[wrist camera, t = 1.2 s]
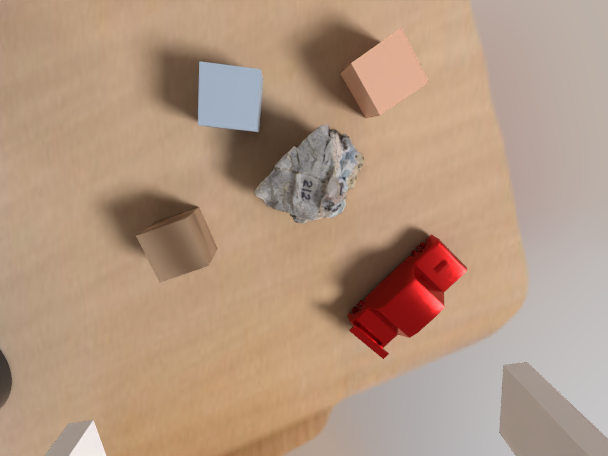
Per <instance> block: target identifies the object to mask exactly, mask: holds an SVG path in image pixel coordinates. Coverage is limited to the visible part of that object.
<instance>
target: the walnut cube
mask: <svg viewBox="0 0 608 456" xmlns="http://www.w3.org/2000/svg"><path fill="white" fill-rule="evenodd" d="M136 237H137V239H138V241H139V243H140V245H141V247H142V249H143V251H144V253H145V255H146V257H147V259H148V260H149V262H150V264H151V266H152V268H153V270H154V272H155V274H156V276H157V278H158V280H159V282H163V281H166V280H169V279H171V278H174V277H177V276H180V275H183V274H186V273H189V272H192V271H194V270H197V269H200V268H203V267H206V266H209V264H210V262H211V260H212V258H213V256H214V254H215V253H216V251H217V247H216V244H215V242H214V240H213V237H212V235H211V233H210V231H209V228H208V226H207V224H206V222H205V219H204V217H203V215H202V213H201V210H200V208H199V207H198V208H195V209H192V210H189V211H186V212H184V213H181V214H178V215H175V216H172V217H169V218H166V219H164V220H161V221H158V222H155V223H154V224H152V225H151V226H149V227H148V228H147V229H145V230H144V231H142V232H141V233H139V234H138V235H137V236H136Z"/></svg>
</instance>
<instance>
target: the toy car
mask: <svg viewBox="0 0 608 456" xmlns="http://www.w3.org/2000/svg"><path fill="white" fill-rule="evenodd" d="M426 241H427V243H425V242H423V243H420V244H419V245H418V246H417V247H416V248H417V249H418V251H416V250H415V249H414V250H413V251H412V256H413V257H412V256H408V257H407V258H406V259H405V260H404V261H403V262H402V263H401V264H400V265H399V266H398V267H397V268H396V269H395V270H394V271H393V272H392V273H391V274H390V275H389V276H388V277H386V278H385V279H384V280H383V281H382V282H381V283H380V284H379V285H378V286H377V287H376V288H375V289H374V290H373V291H372V292H371V293H370V294H369V295H368V296H367V297H366V298H365V301H364V300H361V301H360V302H359V303H360V304H361V306H362V305H363V307H361V306H360V307H359V303H358V304H357V306H358V308H357V307H356V306H355V307H353V309H352V314H353V315H351V314H350V313H349V314H348V315H347V316H348V318H349V321H350V323H351V324H352V325H353V327H352V328H351V329H350V330H349V331H350V332H351V333H353V334H354V335H355V336H356V337H357V338H359V339H360V340H361V341H362V342H363V343H365V344H366V345H367V346H368V347H370V348H371V349H372V350H373V351H374V352H376V353H377V354H378V355H379V356H380V357H382V358H383V359H384V358H385V357H386V356H387V355H388V354H389V353H388V352H387V351H386V350H384V349H383V348H384V347H385V346H386V345H387V344H388V343H389V342H390V341H391V340H392V339H393V338H395V337H396V336H397V335H401V336H405V337H409V338H410V337H411V336H413V335H415V334H416V333H418V332H419V331H420V330H421V329H422V328H424V327H425V326H426V325H427V324H428V323H429V322H430V321H431V320H432V319H434V318H435V317H436V316H437V315H438V314H439V312H440V311H441V310H442V309H443V308H444V292H445V291H446V290H447V289H448V288H449V287H450V286H451V285H452V284H453V283H455V282H456V281H457V280H458V279H459V278H460V277H461V276H462V275H463V274H464V273H465V272H466V271H467V267H466V266H465V265H464V264H463V263H462V262H461V261H460V260H459V259H458V258H457V257H456V256H455V255H454V254H453V253H452V252H451V251H450V250H449V249H448V248H447V247H446V246H445V245H444V244H443V243H442V242H441V241H440V240H439V239H438V238H436V237H435V236H433V235H430V236H429V237H428V238H427V239H426ZM419 247H421V249H419Z"/></svg>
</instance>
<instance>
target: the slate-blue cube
mask: <svg viewBox="0 0 608 456" xmlns="http://www.w3.org/2000/svg"><path fill="white" fill-rule="evenodd" d="M262 89H263V77H262V72H261V69H254V68H246V67H239V66H231V65H224V64H216V63H209V62H201V61H199V99H198V125H201V126H208V127H216V128H225V129H234V130H243V131H252V132H260V118H261V103H262Z"/></svg>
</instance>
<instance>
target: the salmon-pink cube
mask: <svg viewBox="0 0 608 456" xmlns="http://www.w3.org/2000/svg"><path fill="white" fill-rule="evenodd" d="M341 76H342V78H343V79H344V81H345V83H346V85H347V86H348V88H349V90H350V92H351V93H352V95H353V97H354V98H355V100H356V102H357V104H358V105H359V107H360V109H361V111H362V112H363V114H364V116H365V118H369V117H374V116H379V115H381V114H383V113H384V112H386V111H387V110H389V109H390V108H391V107H393V106H394V105H396V104H397V103H399V102H400V101H402V100H403V99H405V98H406V97H408V96H409V95H410V94H412V93H413V92H415V91H416V90H418V89H419V88H421V87H422V86H424V85H425V84H427V83H428V82H429V81H428V79H427V77H426V75H425V73H424V71H423V69H422V67H421V65H420V63H419V61H418V59H417V57H416V55H415V53H414V51H413V49H412V47H411V45H410V43H409V41H408V39H407V37H406V35H405V33H404V31H403V29H402V28H400V29H399V30H397V31H396V32H394V33H393V34H392V35H390V36H389V37H387V38H386V39H385V40H383V41H382V42H380V43H379V44H377V45H376V46H375V47H373V48H372V49H370V50H369V51H368V52H366V53H365V54H363V55H362V56H361V57H359V58H358V59H356V60H355V61H353V62H352V63H351V64H350V65H349V66H348V67H347V68H346V69H345V70H344V71H343V72H342V73H341Z"/></svg>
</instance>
